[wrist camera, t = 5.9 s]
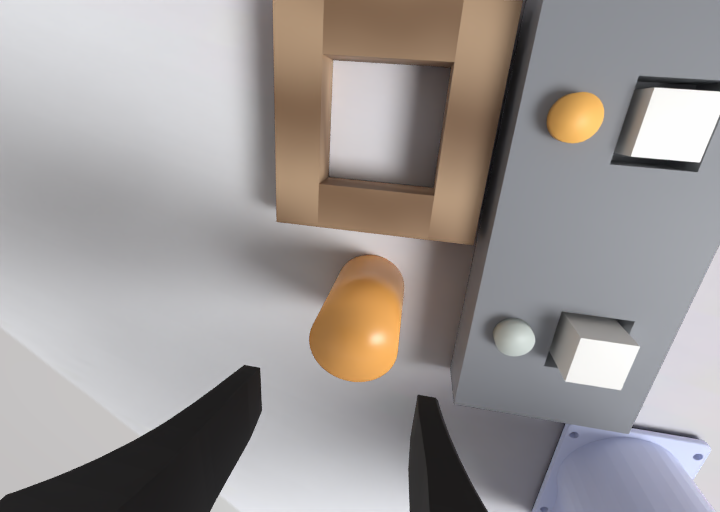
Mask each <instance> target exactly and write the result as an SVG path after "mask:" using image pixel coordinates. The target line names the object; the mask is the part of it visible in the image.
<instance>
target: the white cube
mask: <svg viewBox="0 0 720 512" xmlns="http://www.w3.org/2000/svg"><path fill="white" fill-rule="evenodd" d="M719 115H720V92H718V91H702V90H687V89H671V88H655V87H654V88H645V89H635V90H634V92H633V95H632V98H631V101H630V104H629V107H628V110H627V114H626V117H625V120H624V123H623V126H622V129H621V132H620V135H619V138H618V141H617V144H616V147H615V150H614V153H617V154H621V155H626V156H630V157H642V158H653V159H665V160H677V161H688V162H700V161H701V158H702V156H703V154H704V151H705V149H706V146H707V144H708V142H709V139H710V137H711V134H712V132H713V130H714V127H715V125H716V123H717V120H718V118H719Z"/></svg>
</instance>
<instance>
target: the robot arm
mask: <svg viewBox="0 0 720 512" xmlns="http://www.w3.org/2000/svg"><path fill="white" fill-rule="evenodd" d="M261 411H262V402H261V379H260V368H258V367H252V366H247V365H244V366H243V367H241V368H240V369H238V370H237V371H236V372H234V373H233V374H232V375H230V376H229V377H228V378H227V379H225V380H224V381H223V382H221V383H220V384H219V385H217V386H216V387H215V388H213V389H212V390H211V391H209V392H208V393H207V394H205V395H204V396H203V397H201V398H200V399H199V400H197V401H196V402H194V403H193V404H192V405H190V406H189V407H187V408H186V409H184V410H183V411H181V412H180V413H178V414H177V415H175V416H174V417H172V418H171V419H169V420H168V421H166V422H165V423H163V424H162V425H160V426H158V427H157V428H155V429H153V430H151V431H150V432H148V433H146V434H145V435H143V436H141V437H139V438H137V439H136V440H134V441H132V442H130V443H128V444H126V445H124V446H122V447H120V448H118V449H116V450H114V451H112V452H110V453H108V454H106V455H104V456H102V457H100V458H98V459H96V460H94V461H91V462H89V463H87V464H85V465H83V466H81V467H78V468H76V469H73V470H71V471H69V472H66V473H64V474H61V475H59V476H57V477H54V478H52V479H49V480H46V481H43V482H41V483H38V484H35V485H33V486H30V487H27V488H25V489H22V490H19V491H16V492H13V493H10V494H8V495H6V496H5V497H3V498H2V499H1V500H0V512H210V510H211V509H212V507H213V505H214V503H215V501H216V498H217V497H218V495H219V493H220V492H221V490H222V488H223V486H224V485H225V483H226V481H227V479H228V477H229V476H230V474H231V472H232V470H233V469H234V467H235V465H236V463H237V461H238V460H239V458H240V456H241V454H242V452H243V451H244V449H245V447H246V445H247V443H248V442H249V440H250V438H251V436H252V433H253V431H254V429H255V426H256V424H257V421H258V419H259V416H260V414H261ZM572 432H574V433H572ZM710 451H711V448H710V446H709V445H708V444H707V443H706V442H705V441H703V440H699V439H693V438H687V437H681V436H676V435H670V434H664V433H658V432H652V431H646V430H640V429H634V428H631V430H630V432H629V434H624V433H618V432H613V431H607V430H601V429H595V428H589V427H584V426H578V425H572V424H565V427H564V429H563V432H562V434H561V437H560V440H559V442H558V445H557V447H556V450H555V453H554V455H553V458H552V460H551V463H550V466H549V468H548V471H547V473H546V476H545V479H544V481H543V484H542V486H541V489H540V492H539V494H538V497H537V499H536V502H535V505H534V507H533V510H532V512H716V511H715V510H714V508H713V507H712V506H711V504H710V503H709V502H708V500H707V499H706V498H705V496H704V495H703V493H702V492H701V491H700V489H699V488H698V487H697V485H696V484H695V482H694V481H693V479H694V478H695V476H696V475H697V473H698V471H699V470H700V468H701V466H702V465H703V463H704V462H705V460H706V458H707V457H708V455H709V453H710ZM408 470H409V502H410V512H488V511H487V509H486V508H485V506H484V504H483V503H482V501H481V499H480V497H479V496H478V494H477V492H476V490H475V488H474V486H473V485H472V483H471V481H470V479H469V477H468V475H467V473H466V471H465V469H464V467H463V465H462V463H461V461H460V458H459V456H458V454H457V452H456V449H455V447H454V445H453V442H452V440H451V438H450V435H449V433H448V430H447V427H446V425H445V422H444V419H443V416H442V413H441V410H440V406H439V402H438V400H437V399H436V398H434V397H428V396H422V395H418V396H417V402H416V408H415V414H414V420H413V426H412V432H411V438H410V452H409V468H408Z"/></svg>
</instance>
